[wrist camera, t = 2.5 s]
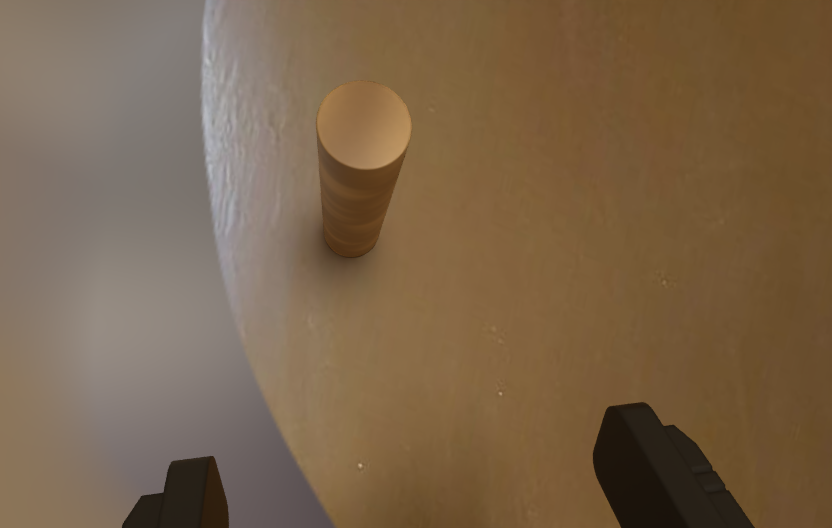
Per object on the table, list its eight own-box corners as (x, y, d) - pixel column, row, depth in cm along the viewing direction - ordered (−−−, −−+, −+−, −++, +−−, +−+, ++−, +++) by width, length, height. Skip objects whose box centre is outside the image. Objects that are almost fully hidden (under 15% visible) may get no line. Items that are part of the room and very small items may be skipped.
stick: (321, 254, 31) (311, 164, 18) (326, 201, 32) (320, 73, 18) (376, 259, 32) (408, 174, 18) (380, 207, 32) (415, 85, 19)
